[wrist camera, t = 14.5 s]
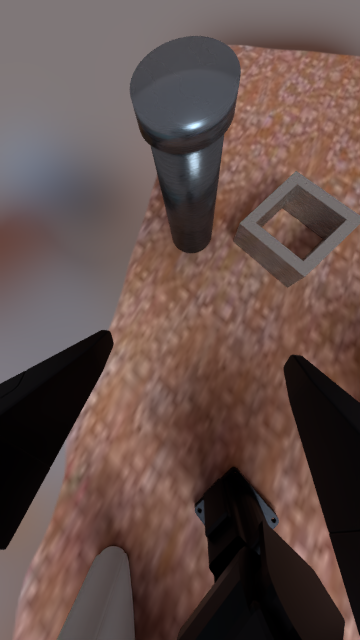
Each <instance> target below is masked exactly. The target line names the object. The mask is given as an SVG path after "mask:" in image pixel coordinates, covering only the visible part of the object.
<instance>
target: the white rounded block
mask: <svg viewBox="0 0 360 640" xmlns="http://www.w3.org/2000/svg"><path fill="white" fill-rule="evenodd" d="M57 640H135V629H134V612H133V600H132V588H131V578H130V568H129V561H128V557H127V554H126V553H124V550H123V549H121V548H119V547H117V546H110V547H107V548H105V549H104V550H103V551H102V552H101V554H100V555H97V556H96V558H95V559H94V561H93V563H92V565H91V567H90V569H89V572H88V574H87V576H86V578H85V580H84V583H83V585H82V587H81V589H80V591H79V593H78V595H77V598H76V600H75V602H74V604H73V606H72V608H71V610H70V612H69V615H68V617H67V619H66V621H65V623H64V625H63V627H62V629H61V632H60V634H59V636H58V638H57Z"/></svg>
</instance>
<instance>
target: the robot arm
mask: <svg viewBox="0 0 360 640" xmlns="http://www.w3.org/2000/svg"><path fill="white" fill-rule="evenodd" d="M113 344H114V343H113V339H112V335H111V332H110V331H107V330H101V331H99V332H97V333H95V334H93V335H91V336H89V337H88V338H86V339H84V340H82V341H80V342H78V343H76V344H75V345H73V346H71V347H69V348H67V349H65V350H63V351H62V352H59V353H58V354H56V355H54V356H52V357H50V358H48V359H46V360H44V361H43V362H41V363H39V364H37V365H35V366H33V367H31V368H29V369H28V370H27V371H24V372H22V373H20V374H18V375H16V376H15V377H13V378H10V379H9V380H7V381H5V382H3V383H1V384H0V550H4V549H6V548H7V546H8V545H9V543H10V541H11V539H12V538H13V536H14V534H15V532H16V530H17V528H18V527H19V525H20V523H21V521H22V519H23V518H24V516H25V514H26V512H27V510H28V508H29V506H30V505H31V503H32V501H33V499H34V497H35V495H36V493H37V492H38V490H39V488H40V486H41V484H42V483H43V481H44V479H45V477H46V475H47V473H48V472H49V470H50V467H51V466H52V464H53V462H54V460H55V458H56V456H57V455H58V453H59V451H60V449H61V447H62V445H63V444H64V442H65V440H66V438H67V436H68V434H69V433H70V431H71V429H72V427H73V425H74V423H75V422H76V420H77V418H78V416H79V414H80V412H81V410H82V409H83V407H84V405H85V403H86V401H87V399H88V398H89V396H90V394H91V392H92V390H93V388H94V387H95V385H96V383H97V381H98V379H99V377H100V375H101V374H102V372H103V369H104V367H105V365H106V362H107V360H108V357H109V355H110V353H111V350H112V348H113ZM284 375H285V380H286V386H287V391H288V397H289V401H290V405H291V408H292V412H293V415H294V418H295V422H296V425H297V428H298V432H299V435H300V438H301V442H302V445H303V448H304V452H305V455H306V458H307V462H308V465H309V468H310V472H311V475H312V478H313V482H314V485H315V488H316V492H317V495H318V498H319V502H320V505H321V508H322V512H323V515H324V518H325V522H326V525H327V528H328V531H329V536H330V539H331V542H332V546H333V549H334V552H335V555H336V559H337V562H338V565H339V569H340V572H341V575H342V579H343V582H344V585H345V589H346V592H347V595H348V599H349V602H350V605H351V609H352V612H353V615H354V619H355V622H356V625H357V629H358V632H359V635H360V403H359V402H358V401H357V400H355V399H354V398H353V397H352V396H351V395H349V394H348V393H347V392H346V391H344V390H343V389H342V388H341V387H340V386H338V385H337V384H336V383H335V382H333V381H332V380H331V379H330V378H329V377H327V376H326V375H325V374H324V373H322V372H321V371H320V370H319V369H317V368H316V367H315V366H314V365H313V364H311V363H310V362H309V361H308V360H306V359H305V358H304V357H303V356H300V355H291V356H290V357H289V359H288V360H287V362H286V363H285V365H284ZM234 472H236V474H235V475H234V474H233V473H234ZM198 508H201V510H198ZM195 513H196V514H197V516H198V517H199V518H200V520H201V521H202V522H203V524H204V525H205V535H206V537H207V540H208V557H209V568H210V570H211V572H212V573H213V575H214V583H215V584H214V585H213V586H212V588H211V589H210V590H209V592H208V593H207V594H206V596H205V597H204V598H203V600H202V601H201V602H200V604H199V605H198V606H197V608H196V609H195V610H194V612H193V613H192V614H191V616H190V617H189V618H188V620H187V621H186V622H185V624H184V625H183V626H182V628H181V629H180V632H179V635H178V637H177V640H343V635H344V626H345V621H344V618H343V616H342V615H341V613H340V611H339V610H338V608H337V607H336V605H335V603H334V602H333V600H332V598H331V597H330V595H329V594H328V592H327V590H326V589H325V587H324V586H323V584H322V582H321V581H320V579H319V578H318V576H317V574H316V573H315V571H314V570H313V569H312V568H311V567H310V566H309V565H308V564H307V563H306V562H305V561H304V560H303V559H302V558H301V557H300V556H299V555H298V554H297V553H296V552H295V551H294V550H293V549H292V548H291V547H290V546H289V545H288V544H287V543H286V542H285V541H284V540H283V539H282V538H281V537H280V536H279V535H278V534H277V533H276V532H275V531H274V530H273V529H274V528H275V527H276V526H277V525H278V523H279V520H278V517H277V515H276V513H275V512H274V511H273V510H272V509H271V507H270V506H269V505H268V504H267V503H266V502H265V500H264V499H263V498H262V497H261V496H260V495H259V493H258V492H257V491H256V490H255V489H254V488H253V486H252V485H251V484H250V483H249V482H248V480H247V479H246V478H245V477H244V476H243V475H242V473H241V472H240V471H239V470H238V469H237V468H236V467H232V468H231V469H230V470H229V471H228V472H227V473H226V474H225V475H224V476H223V477H222V478H221V479H218V480H217V481H216V482H215V483H214V484H213V485H212V486H211V487H210V488H209V489H208V490H207V491H206V492H205V493H204V496H203V497H202V498H201V499H200V500H199V501H198V502H197V503H196V504H195ZM272 518H274V519H272Z"/></svg>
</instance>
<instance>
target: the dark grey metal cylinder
mask: <svg viewBox="0 0 360 640" xmlns="http://www.w3.org/2000/svg"><path fill="white" fill-rule="evenodd" d="M240 73H241V71H240V64H239V60H238V58H237V56H236V54H235V53H234V51H233V50H232V49H231V48H230V47H229V46H227V45H226V44H224V43H223V42H221V41H219V40H216V39H213V38H209V37H203V36H190V37H183V38H178V39H175V40H172V41H169V42H167V43H165V44H162V45H161V46H159V47H157V48H156V49H154V50H153V51H151V52H150V53H149V54H148V55H147V56H146V57H144V59H143V60H142V61H141V62H140V63H139V65H138V66H137V68H136V69H135V71H134V73H133V76H132V78H131V83H130V96H131V99H132V103H133V107H134V111H135V114H136V118H137V122H138V125H139V129H140V132H141V134H142V136H143V138H144V139H145V141H146V142H147V143H148V144H150V145H151V149H152V153H153V157H154V162H155V166H156V170H157V174H158V179H159V183H160V187H161V191H162V195H163V200H164V204H165V208H166V212H167V217H168V221H169V225H170V229H171V233H172V238H173V241H174V244H175V245H176V247H177V248H178V249H180V250H181V251H183V252H186V253H196V252H199V251H201V250H203V249H204V248H205V247H206V246H207V245H208V244H209V242H210V240H211V235H212V227H213V219H214V211H215V203H216V195H217V187H218V179H219V171H220V163H221V155H222V147H223V139H224V133H225V132H226V131H227V130H228V128H229V126H230V125H231V122H232V120H233V117H234V113H235V107H236V100H237V94H238V88H239V81H240Z"/></svg>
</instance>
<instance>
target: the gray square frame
mask: <svg viewBox="0 0 360 640" xmlns="http://www.w3.org/2000/svg"><path fill="white" fill-rule="evenodd" d="M282 208H284V209H285V210H286V211H287V212H289V213H290V214H291V215H293V216H294V217H295V218H297V219H298V220H299V221H301V222H302V223H303V224H305V225H306V226H307V227H309V228H310V229H311V230H313V231H314V232H315V233H316V234H318V235H319V236H320V237H322V238H323V240H322V241H321V242H320V243H319V244H318V245H317V246H316V247H315V248H314V249H313V250H312V251H311V252H310V253H309V254H308V255H307V256H306V257H305V258H303V259H302V260H301V259H300V258H299V257H298V256H296V255H295V254H294V253H293V252H291V251H290V250H289V249H288V248H286V247H285V246H284V245H283V244H281V243H280V242H279V241H278V240H276V239H275V238H274V237H273V236H272V235H270V234H269V233H268V232H267V231H265V230H264V229H263V228H262V226H263V225H265V224H266V223H267V222H268V221H269V220H270V219H271V218H272V217H273V216H274V215H275V214H276V213H277V212H278V211H280V210H281V209H282ZM359 224H360V215H358V214H357V213H356V212H354V211H353V210H351V209H350V208H348V207H347V206H346V205H344V204H343V203H341V202H340V201H338V200H337V199H336V198H334V197H333V196H331V195H330V194H328V193H327V192H326V191H324V190H323V189H321V188H320V187H318V186H317V185H316V184H314V183H313V182H311V181H310V180H308V179H307V178H305V177H304V176H303V175H301V174H300V173H298V172H297V171H296V172H295V173H294V174H292V175H291V176H290V177H289V178H288V179H287V180H286V181H285V182H284V183H283V184H282V185H281V186H279V187H278V188H277V189H276V190H275V191H274V192H273V193H272V194H271V195H270V196H269V197H268V198H267V199H265V200H264V201H263V202H262V203H261V204H260V205H259V206H258V207H257V208H256V209H255V210H254V211H253V212H251V213H250V214H249V215H248V216H247V217H246V218H245V219H244V220H243V221H242V222H241V223H240V224H239V227H238V230H237V233H236V235H235V238H234V242H235V243H236V244H237V245H238V246H239V247H241V248H242V249H243V250H244V251H245V252H246V253H248V254H249V255H250V256H251V257H252V258H253V259H255V260H256V261H257V262H258V263H259V264H260V265H262V266H263V267H264V268H265V269H266V270H267V271H269V272H270V273H271V274H272V275H273V276H274V277H276V278H277V279H278V280H279V281H280V282H281V283H283V284H284V285H285V286H286V287H287V288H288V287H290V286H291V285H293V284H295V283H296V282H298V281H299V280H301V279H302V278H304V277H305V276H306V275H307V274H308V273H309V272H310V271H311V270H313V269H314V268H315V267H316V266H317V265H318V264H319V263H320V262H321V261H322V260H323V259H324V258H325V257H326V256H327V255H328V254H329V253H330V252H331V251H332V250H333V249H334V248H335V247H336V246H337V245H338V244H340V243H341V242H342V241H343V240H344V239H345V238H346V237H347V236H348V235H349V234H350V233H351V232H352V231H353V230H354V229H355V228H356V227H357V226H358V225H359Z"/></svg>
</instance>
